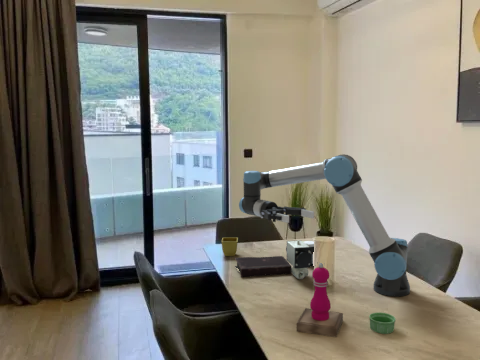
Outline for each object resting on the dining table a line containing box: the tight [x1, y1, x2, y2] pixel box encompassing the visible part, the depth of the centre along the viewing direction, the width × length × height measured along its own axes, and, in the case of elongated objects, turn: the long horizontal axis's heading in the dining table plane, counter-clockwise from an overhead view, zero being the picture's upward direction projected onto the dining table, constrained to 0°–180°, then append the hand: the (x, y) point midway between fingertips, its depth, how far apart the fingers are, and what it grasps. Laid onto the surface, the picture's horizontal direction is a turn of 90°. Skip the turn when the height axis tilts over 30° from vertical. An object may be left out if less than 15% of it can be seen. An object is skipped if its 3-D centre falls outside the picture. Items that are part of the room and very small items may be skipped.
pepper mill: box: [309, 262, 332, 321], centre depth 167 cm, size 7×7×20 cm
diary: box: [234, 255, 293, 278], centre depth 232 cm, size 19×25×5 cm
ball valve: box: [285, 239, 312, 280], centre depth 220 cm, size 18×8×18 cm, turn 11°
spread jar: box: [303, 240, 315, 268], centre depth 240 cm, size 12×11×12 cm
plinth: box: [296, 307, 344, 338], centre depth 168 cm, size 14×14×3 cm
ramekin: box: [368, 311, 397, 335], centre depth 165 cm, size 9×9×4 cm
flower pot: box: [221, 237, 239, 257], centre depth 258 cm, size 9×9×9 cm
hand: (301, 217), depth 183 cm, fingers open, 13 cm apart
